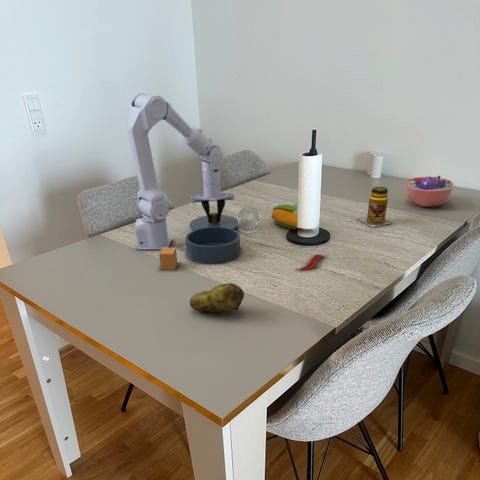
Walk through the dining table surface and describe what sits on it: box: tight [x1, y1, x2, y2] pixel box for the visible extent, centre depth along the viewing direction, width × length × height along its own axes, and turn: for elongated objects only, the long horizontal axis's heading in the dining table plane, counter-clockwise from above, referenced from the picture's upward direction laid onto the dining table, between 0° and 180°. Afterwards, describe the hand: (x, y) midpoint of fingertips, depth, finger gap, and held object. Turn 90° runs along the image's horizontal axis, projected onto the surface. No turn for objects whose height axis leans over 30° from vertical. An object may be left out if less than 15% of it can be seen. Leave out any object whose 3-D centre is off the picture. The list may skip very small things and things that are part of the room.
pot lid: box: [189, 211, 239, 231], centre depth 161 cm, size 17×17×4 cm
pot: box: [185, 227, 241, 265], centre depth 143 cm, size 16×16×5 cm
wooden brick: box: [158, 247, 178, 271], centre depth 136 cm, size 4×5×5 cm
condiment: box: [358, 186, 391, 228], centre depth 161 cm, size 7×8×12 cm
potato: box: [189, 282, 245, 313], centre depth 112 cm, size 8×13×8 cm, turn 57°
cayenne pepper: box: [298, 254, 325, 271], centre depth 135 cm, size 12×5×2 cm, turn 131°
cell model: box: [405, 175, 455, 208], centre depth 176 cm, size 17×20×11 cm
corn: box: [271, 203, 298, 231], centre depth 159 cm, size 7×8×20 cm
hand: (214, 221), depth 161 cm, fingers closed on pot lid, 2 cm apart
